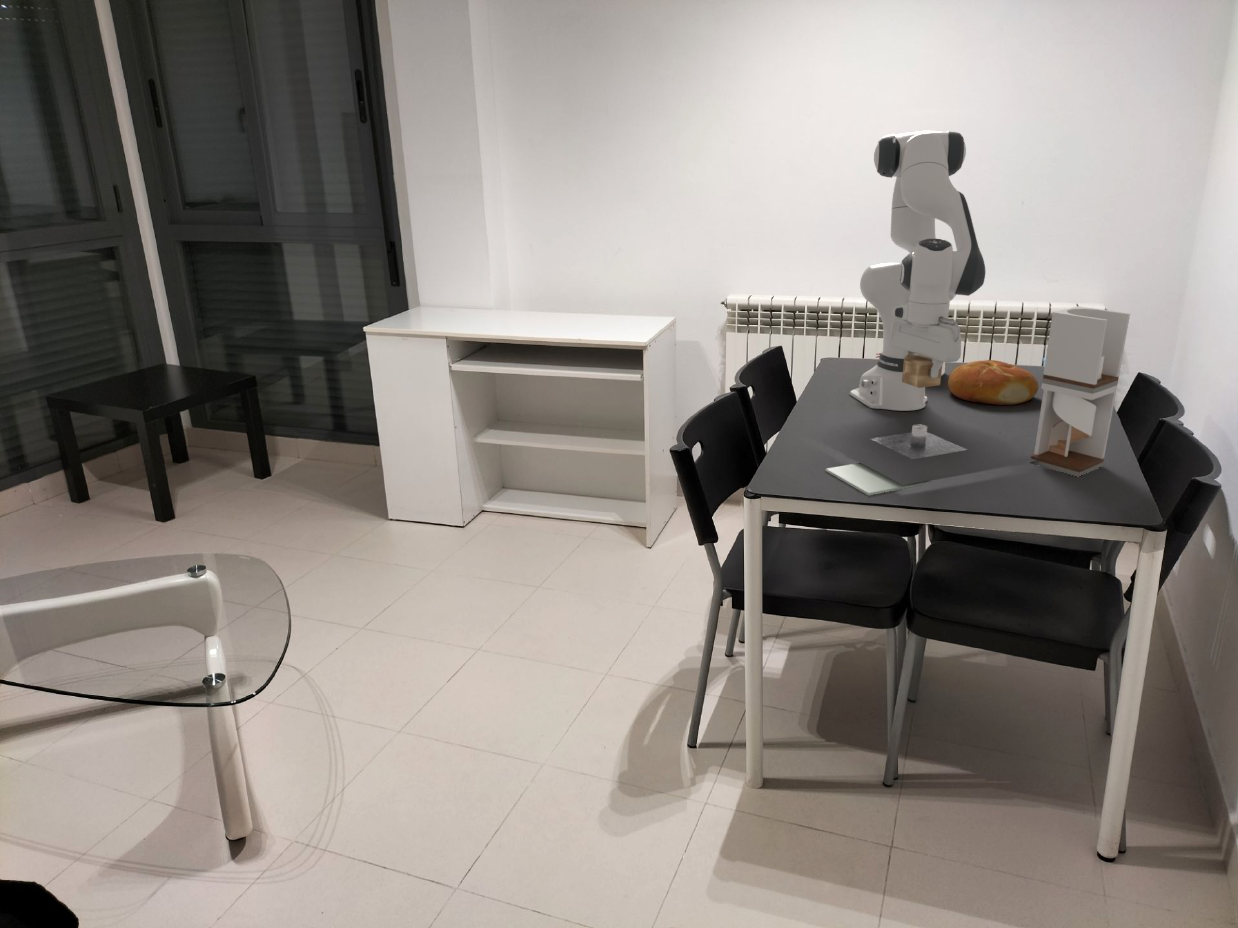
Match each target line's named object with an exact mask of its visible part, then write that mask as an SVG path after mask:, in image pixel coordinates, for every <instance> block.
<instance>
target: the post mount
mask: <svg viewBox="0 0 1238 928" xmlns="http://www.w3.org/2000/svg"><path fill="white" fill-rule="evenodd" d="M870 440H871V441H873V442H875V443H878V444H879V445H882V446H883V447H886V448H888V449H890V450H892V451H894V452H896V453H898V454H900V455H902V456H904V457H907V458H908V459H911V460H918V459H923V458H929V457H930V458H931V457H934V456H935V457H936V456H941V455H946V454H952V453H959V452H963V451H968V449H967V448H965V447H963V446H960V445H958V444H956V443H953V442H951V441H949V440H946V439H944V438H942V437H939V436H937V435H935V434H933V433H930V432H928V425H926V424H921V423H920V424H918V423H917V424H916V423H915V424H913V425H912V429H911V432H904V433H899V434H893V435H891V434H890V435H886V436H880V437H874V438H870Z"/></svg>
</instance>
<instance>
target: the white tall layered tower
mask: <svg viewBox="0 0 1238 928" xmlns="http://www.w3.org/2000/svg"><path fill="white" fill-rule="evenodd" d="M1130 317H1131V313H1129V312H1121V311H1113V310H1107V309H1100V308H1093V307H1086V306H1079V305H1076V306H1073V307H1069V308H1063V309H1060V310H1057V311H1053V312H1052V315H1051V322H1050V328H1049V330H1050V331H1049V336H1048V342H1047V347H1048V348H1047V347H1046V353H1045V354H1046V356H1045V358H1046V361H1045V367H1044V368H1043V375H1042V382H1041V390H1043V392H1042V398H1041V406H1040V411H1039V412H1040V413H1039V418H1038V427H1037V433H1036V438H1035V445H1034V446H1035V447H1034V453H1033V454H1031V456H1030V457H1031V459H1035V460H1033V461H1030V462H1029V464H1030V463H1032V464H1031V465H1033V464H1034V466H1037V465H1040V466H1042V467H1041V468H1044V467H1046V468H1045V469H1047V468H1049V469H1048V470H1051V469H1053V470H1052V471H1054V470H1056V471H1055V472H1058V471H1061V472H1065V473H1067V474H1066V475H1068V474H1072V475H1074V476H1073V477H1075V476H1081V475H1083V474H1085V475H1087V474H1088V473H1087V472H1090V471H1092V472H1094V471H1096V470H1099V469H1100V468H1099V467H1101V468H1102V466H1103V465H1104V462H1105V461H1104V460H1105V455H1106V449H1107V443H1108V438H1109V433H1110V429H1111V421H1112V418H1113V417H1112V416H1113V411H1114V405H1115V400H1116V395H1117V390H1118V382H1119V377H1120V373H1121V372H1120V371H1121V367H1122V361H1123V355H1124V350H1125V344H1126V338H1127V334H1128V328H1129V323H1130V322H1129V321H1130ZM1040 466H1039V467H1040ZM1095 469H1096V470H1095ZM1093 470H1094V471H1093ZM1061 472H1060V473H1061ZM1065 473H1064V474H1065ZM1086 473H1087V474H1086ZM1090 473H1091V472H1090ZM1072 475H1071V476H1072ZM1083 476H1084V475H1083ZM1081 477H1082V476H1081Z"/></svg>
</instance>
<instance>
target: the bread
mask: <svg viewBox="0 0 1238 928" xmlns="http://www.w3.org/2000/svg"><path fill="white" fill-rule="evenodd" d="M947 382H948V383H947V385H948V388H949V391H950V393H952V395H954V396H955V397H957V398H958V399H961V400H964V401H967V402H974V403H981V404H987V405H988V404H989V405H996V406H999V405H1000V406H1012V405H1019V404H1023V403H1027V402H1028V401H1030V400H1031V399H1032V398H1034V397H1035V396H1036V395H1037V393H1038V390H1039V382H1038V380H1037V378H1036V377H1035V375H1033V374H1032V372H1030V371H1028V370H1027V369H1024V368H1022V367H1019V366H1017V365H1014V364H1011V363H1008V362H1003V361H1001V360H1000V361H999V360H992V359H986V360H985V359H984V360H977V361H976V360H975V361H971V362H967V363H965V364H961V365H959V366H957V367H956V368H954V370H952V371H951V373H950V375H949V377H948V381H947Z"/></svg>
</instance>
